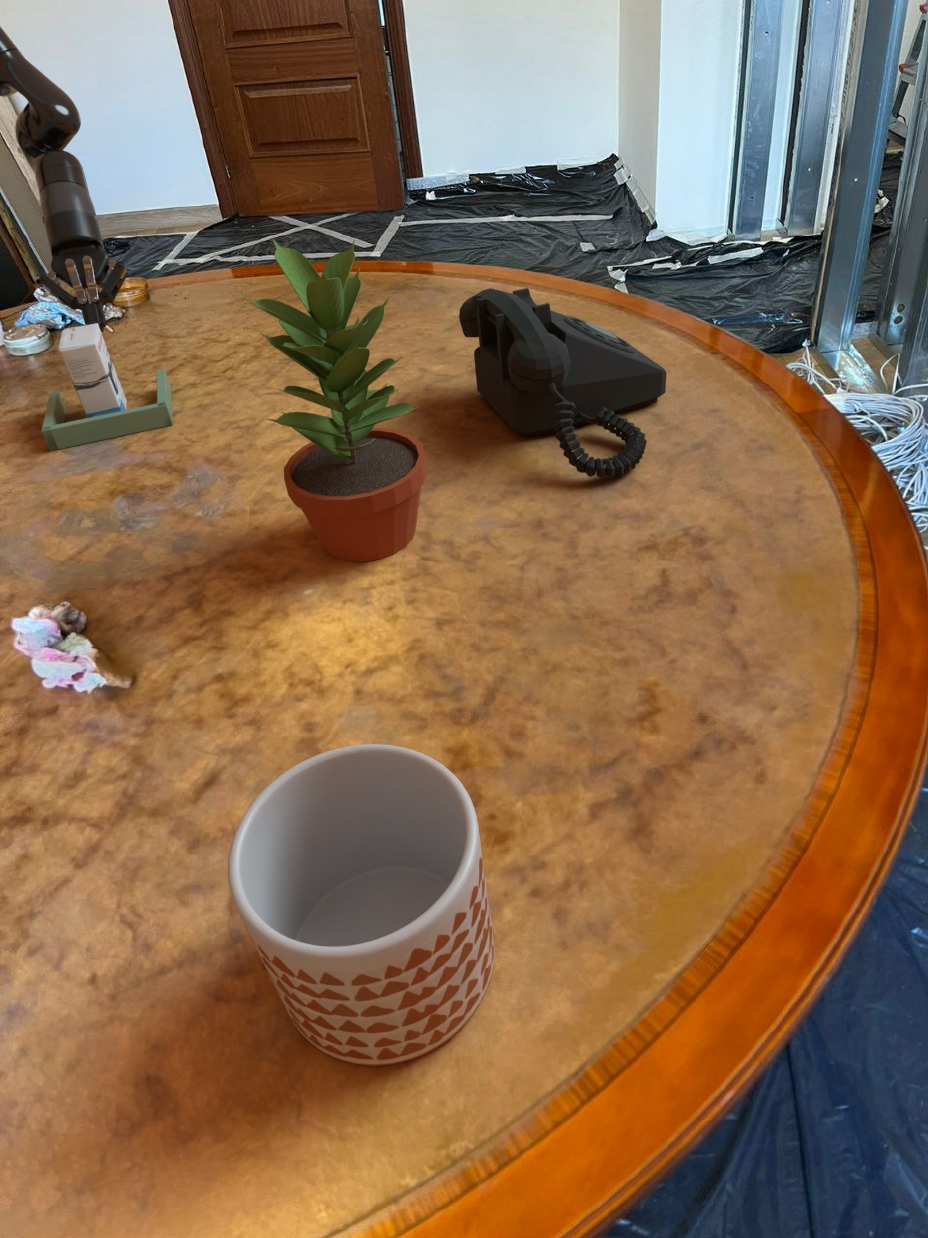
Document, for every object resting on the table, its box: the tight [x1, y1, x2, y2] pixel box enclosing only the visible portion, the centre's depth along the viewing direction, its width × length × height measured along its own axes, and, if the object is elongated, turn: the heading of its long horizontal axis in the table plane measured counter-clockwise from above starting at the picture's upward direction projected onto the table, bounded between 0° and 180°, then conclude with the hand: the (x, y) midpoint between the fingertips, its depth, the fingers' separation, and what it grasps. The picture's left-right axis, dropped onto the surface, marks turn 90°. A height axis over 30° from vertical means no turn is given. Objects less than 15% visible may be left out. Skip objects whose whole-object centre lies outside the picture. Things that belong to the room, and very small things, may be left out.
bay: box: [40, 368, 174, 452], centre depth 120 cm, size 13×16×3 cm
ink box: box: [57, 323, 128, 418], centre depth 118 cm, size 8×5×12 cm, turn 16°
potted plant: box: [243, 237, 429, 563], centre depth 82 cm, size 15×15×30 cm
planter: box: [227, 743, 496, 1067], centre depth 50 cm, size 14×14×13 cm
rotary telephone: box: [458, 287, 667, 479], centre depth 103 cm, size 33×22×15 cm, turn 20°
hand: (97, 329), depth 128 cm, fingers closed
